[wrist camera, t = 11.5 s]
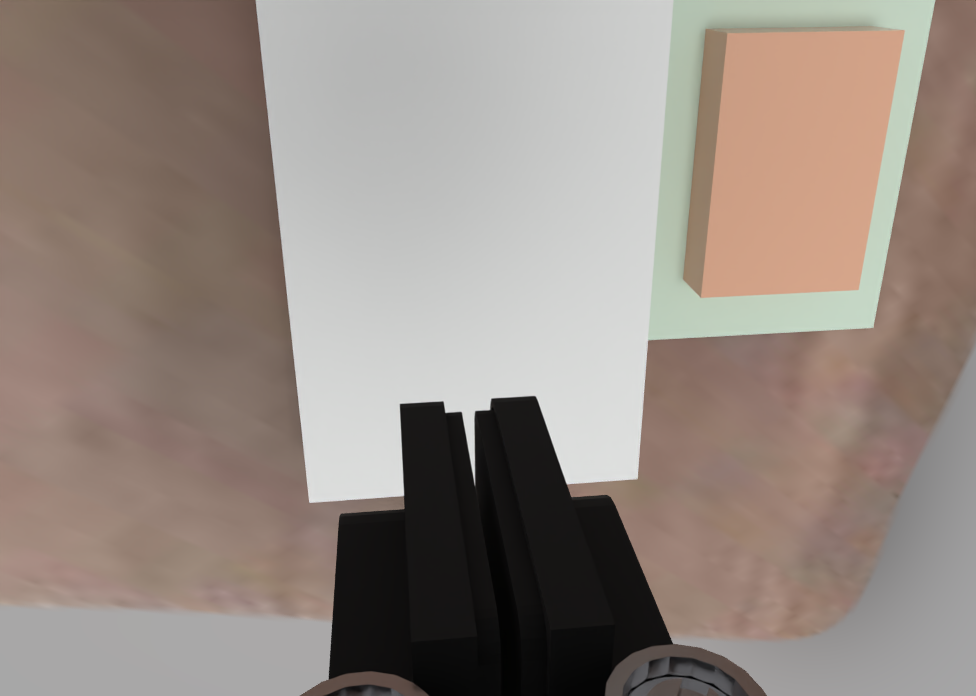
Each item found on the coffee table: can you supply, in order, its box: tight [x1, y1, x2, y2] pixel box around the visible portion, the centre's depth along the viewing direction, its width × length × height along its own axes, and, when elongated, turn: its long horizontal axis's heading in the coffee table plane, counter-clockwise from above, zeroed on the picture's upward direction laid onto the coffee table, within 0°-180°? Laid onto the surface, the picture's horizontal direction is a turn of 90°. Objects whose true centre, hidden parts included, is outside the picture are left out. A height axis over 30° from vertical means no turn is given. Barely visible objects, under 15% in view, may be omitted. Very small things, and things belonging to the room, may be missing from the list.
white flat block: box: [256, 0, 674, 503], centre depth 29 cm, size 22×12×4 cm, turn 0°
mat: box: [648, 0, 935, 340], centre depth 31 cm, size 16×10×1 cm, turn 0°
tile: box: [683, 26, 905, 298], centre depth 31 cm, size 9×6×2 cm, turn 0°
